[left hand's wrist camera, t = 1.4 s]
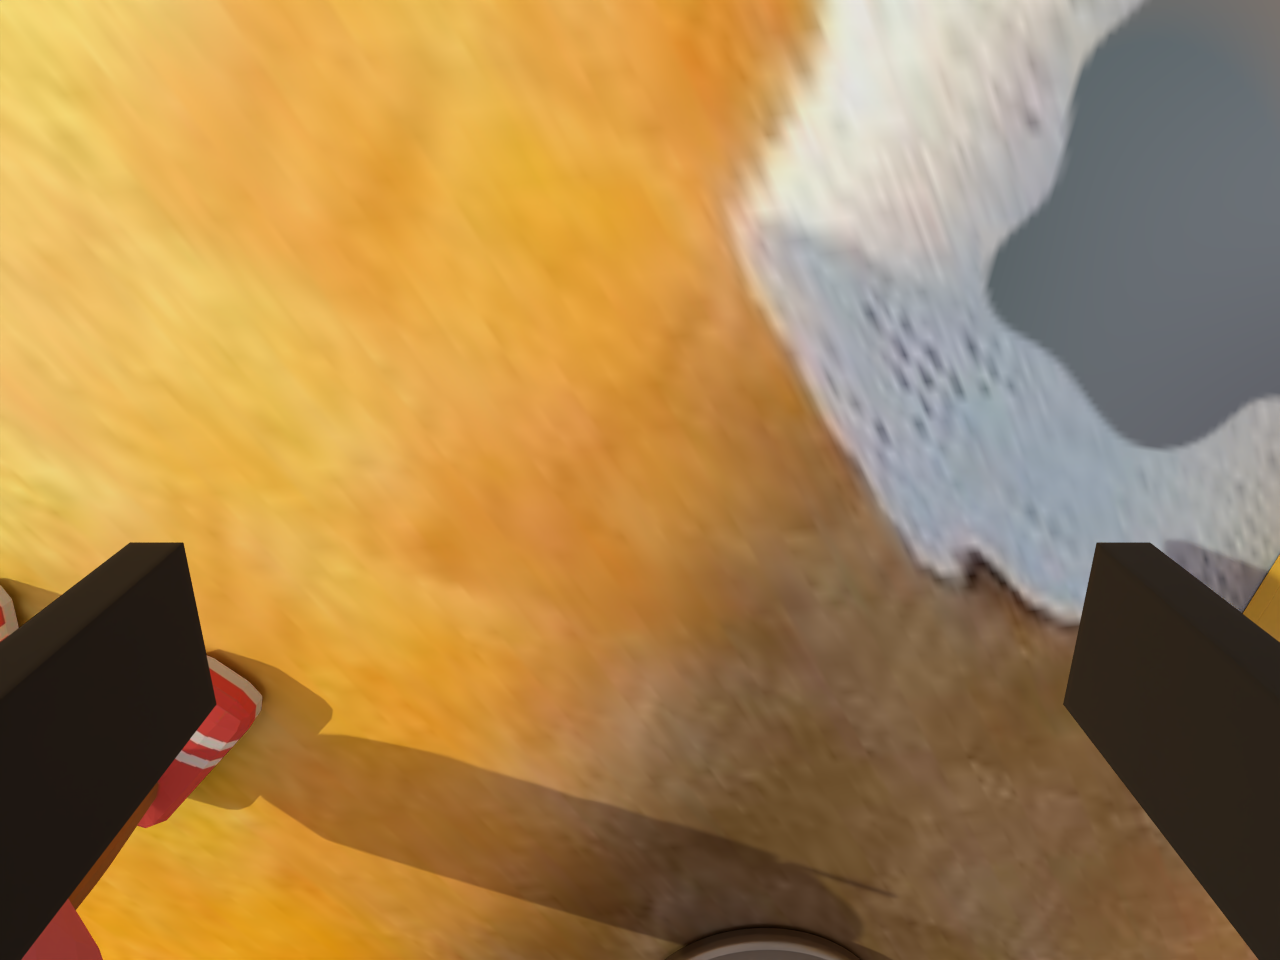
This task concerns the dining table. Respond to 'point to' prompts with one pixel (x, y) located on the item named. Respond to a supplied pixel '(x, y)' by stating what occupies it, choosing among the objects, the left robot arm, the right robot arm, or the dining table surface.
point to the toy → (149, 794)
